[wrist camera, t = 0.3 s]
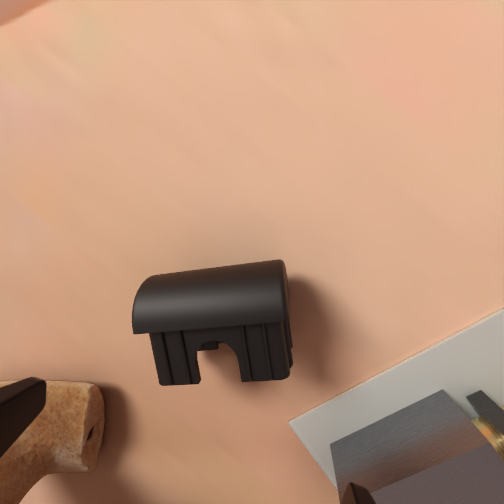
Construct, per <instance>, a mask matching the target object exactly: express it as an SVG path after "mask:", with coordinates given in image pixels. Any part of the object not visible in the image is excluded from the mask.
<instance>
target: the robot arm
mask: <svg viewBox="0 0 504 504" xmlns="http://www.w3.org/2000/svg"><path fill="white" fill-rule="evenodd" d="M46 392H47V383H46V381H45V380H43V379H40V378H37V377H29V378H26V379H23V380H20V381H17V382H15V383H12V384H9V385H6V386H3V387H0V458H1V457H2V456H3V455H4V454H5V453H6V451H7V450H8V449H9V448H10V447H11V446H12V445H13V443H14V442H15V441H16V440H17V439H18V438H19V437H20V436H21V434H22V433H23V432H24V431H25V430H26V429H27V428H28V426H29V425H30V424H31V423H32V422H33V421H34V420H35V418H36V417H37V416H38V415H39V414H40V413H41V411H42V410H43V409H44V407H45V404H46ZM340 504H376V502H375V500H374V499H373V497H372V495H371V494H370V492H369V491H368V489H367V488H366V487H365V486H363V485H360V484H357V483H354V482H349V483H348V485H347V487H346V490H345V492H344V495H343V497H342V500H341V503H340Z"/></svg>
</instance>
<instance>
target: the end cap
mask: <svg viewBox="0 0 504 504" xmlns="http://www.w3.org/2000/svg"><path fill="white" fill-rule="evenodd" d="M132 327H133V334H144V333H149V336H150V340H151V345H152V350H153V355H154V360H155V364H156V369H157V374H158V379H159V384H160V385H162V386H168V385H189V384H199V383H200V381H201V377H200V372H199V366H198V361H197V351H203V350H217V349H218V347H219V346H218V343H226V344H227V345H229V346H230V347H231V348H232V349H233V350H234V352H235V353H236V355H237V358H238V362H239V368H240V374H241V380H242V382H250V381H270V380H283V379H286V378H287V377H288V376H289V375H290V368H291V367H292V365H293V360H292V352H291V348H292V347H293V346H292V339H291V332H290V324H289V287H288V280H287V274H286V269H285V264H284V262H283V261H282V260H271V261H263V262H255V263H247V264H239V265H231V266H223V267H216V268H208V269H200V270H192V271H184V272H176V273H168V274H160V275H154V276H151V277H149V278H147V279H146V280H145V281H144V282H143V283H142V284H141V286H140V288H139V289H138V291H137V294H136V296H135V300H134V304H133V310H132Z"/></svg>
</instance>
